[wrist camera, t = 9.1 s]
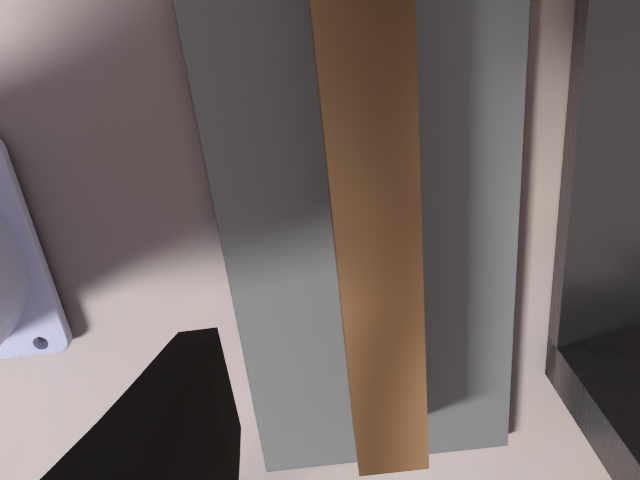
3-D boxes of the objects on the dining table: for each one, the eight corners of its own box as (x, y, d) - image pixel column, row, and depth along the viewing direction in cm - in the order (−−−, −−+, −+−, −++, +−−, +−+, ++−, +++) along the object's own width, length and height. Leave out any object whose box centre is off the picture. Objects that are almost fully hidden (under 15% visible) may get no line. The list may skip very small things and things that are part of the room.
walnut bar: (352, 425, 22) (359, 476, 20) (265, -415, 12) (259, -504, 10) (415, 418, 22) (429, 468, 20) (380, -429, 12) (399, -521, 10)
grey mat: (267, 462, 24) (266, 472, 23) (74, -514, 12) (66, -533, 11) (503, 436, 24) (507, 445, 23) (550, -571, 12) (560, -592, 11)
